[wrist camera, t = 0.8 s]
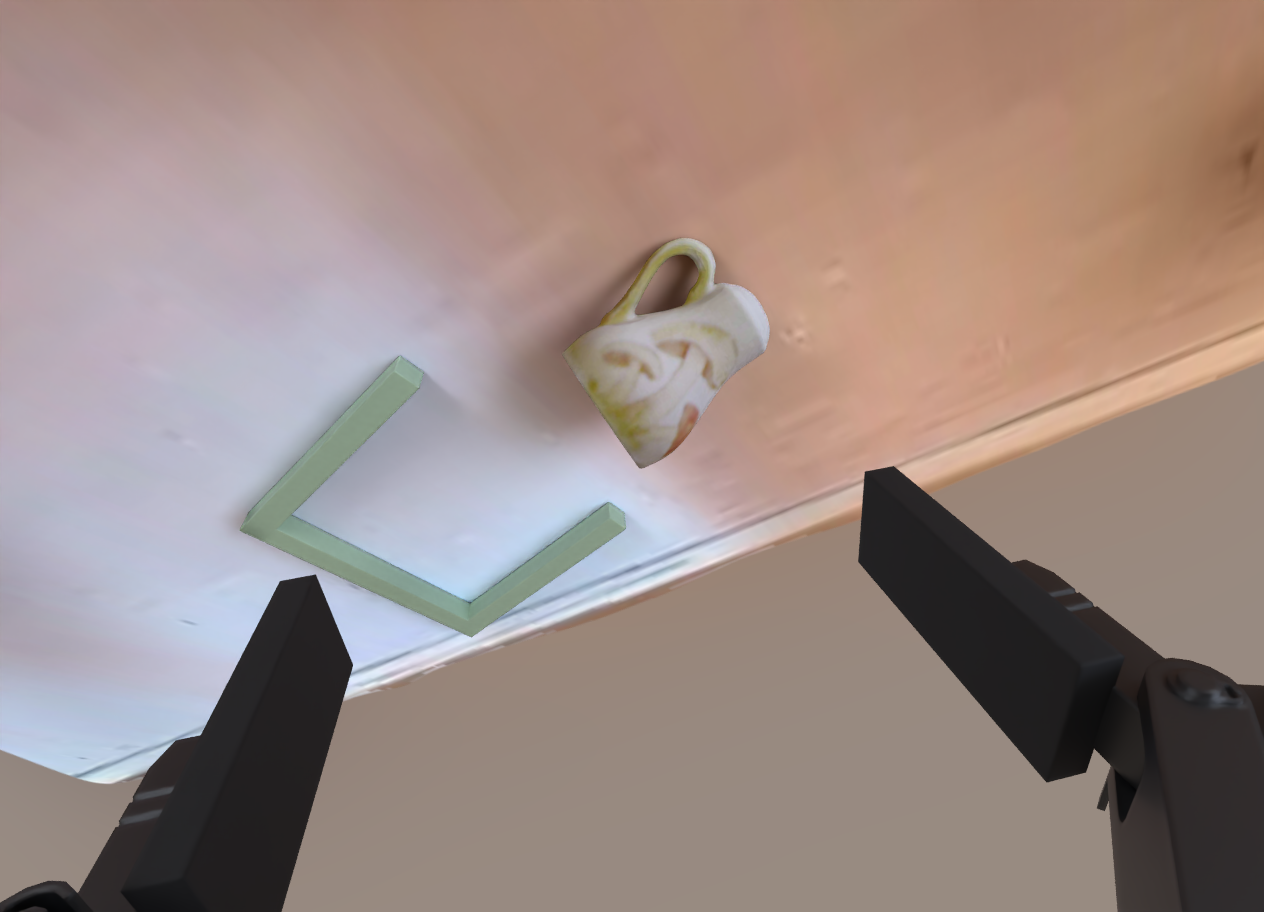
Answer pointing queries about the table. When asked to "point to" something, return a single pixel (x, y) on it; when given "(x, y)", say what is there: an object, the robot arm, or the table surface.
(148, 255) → the table surface
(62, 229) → the table surface
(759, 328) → the mug
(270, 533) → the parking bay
